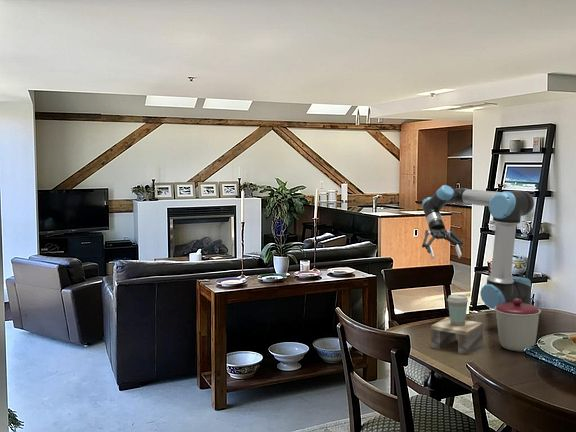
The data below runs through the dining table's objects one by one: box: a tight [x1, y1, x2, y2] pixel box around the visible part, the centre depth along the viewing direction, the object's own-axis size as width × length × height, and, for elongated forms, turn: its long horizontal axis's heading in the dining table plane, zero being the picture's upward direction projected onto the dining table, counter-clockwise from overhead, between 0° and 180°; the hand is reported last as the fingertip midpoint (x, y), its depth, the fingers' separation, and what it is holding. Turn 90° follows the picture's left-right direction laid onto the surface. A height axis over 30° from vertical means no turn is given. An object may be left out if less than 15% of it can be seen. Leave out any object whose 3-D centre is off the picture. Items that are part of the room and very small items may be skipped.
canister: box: [493, 298, 542, 352], centre depth 230 cm, size 18×18×21 cm
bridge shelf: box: [430, 317, 484, 356], centre depth 235 cm, size 16×16×10 cm
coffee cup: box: [446, 294, 469, 326], centre depth 235 cm, size 8×8×12 cm
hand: (446, 257), depth 268 cm, fingers open, 13 cm apart
